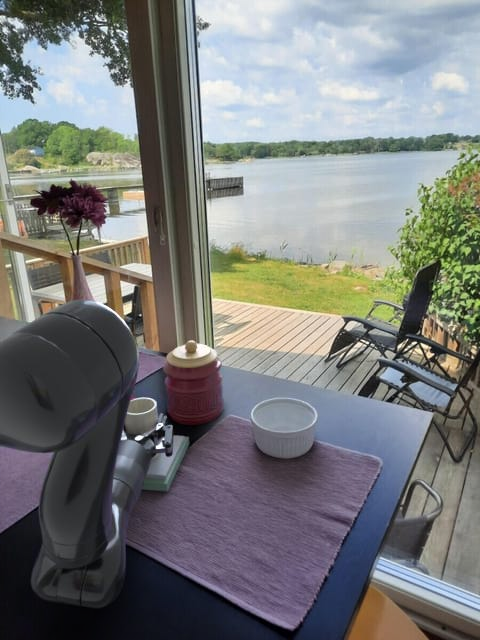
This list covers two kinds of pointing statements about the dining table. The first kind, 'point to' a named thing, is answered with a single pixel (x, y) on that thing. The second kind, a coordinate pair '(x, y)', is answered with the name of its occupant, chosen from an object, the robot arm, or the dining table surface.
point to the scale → (165, 466)
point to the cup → (141, 417)
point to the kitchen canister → (193, 384)
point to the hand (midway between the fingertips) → (145, 417)
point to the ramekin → (284, 427)
